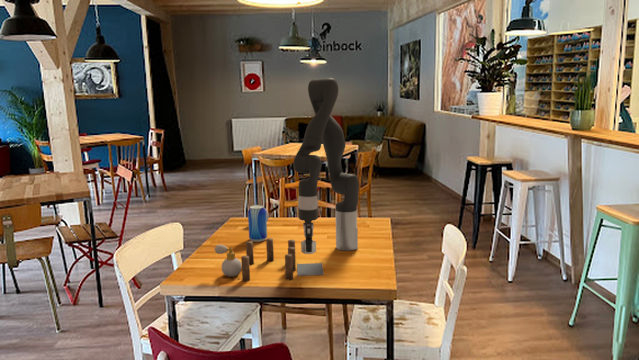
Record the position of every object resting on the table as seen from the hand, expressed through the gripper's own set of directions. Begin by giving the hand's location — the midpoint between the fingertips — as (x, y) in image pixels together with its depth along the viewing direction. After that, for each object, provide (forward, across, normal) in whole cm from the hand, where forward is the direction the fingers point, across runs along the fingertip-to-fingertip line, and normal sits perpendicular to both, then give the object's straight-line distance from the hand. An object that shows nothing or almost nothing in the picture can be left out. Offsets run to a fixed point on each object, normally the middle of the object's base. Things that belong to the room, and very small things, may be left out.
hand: (308, 249), depth 182 cm
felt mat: (+8, 0, 0) cm, 8 cm away
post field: (+8, +2, +15) cm, 17 cm away
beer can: (+8, +40, +23) cm, 47 cm away
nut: (+1, 0, 0) cm, 1 cm away
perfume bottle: (+9, -3, +31) cm, 32 cm away
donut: (+8, +64, +24) cm, 69 cm away
